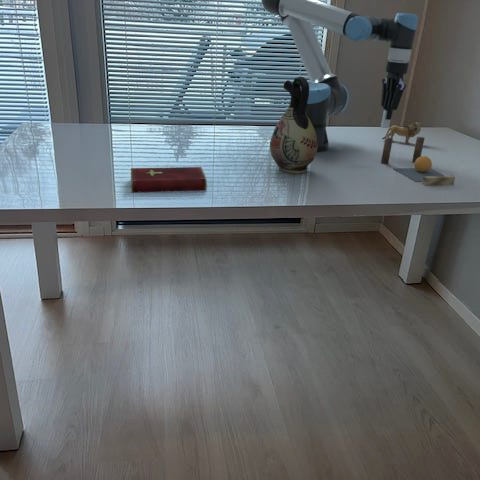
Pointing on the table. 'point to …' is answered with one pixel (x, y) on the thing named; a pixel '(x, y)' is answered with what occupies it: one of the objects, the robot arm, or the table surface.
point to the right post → (418, 148)
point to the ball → (423, 164)
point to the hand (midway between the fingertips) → (384, 127)
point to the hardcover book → (168, 179)
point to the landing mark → (417, 173)
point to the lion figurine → (404, 131)
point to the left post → (386, 150)
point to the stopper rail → (438, 180)
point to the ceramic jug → (294, 132)
